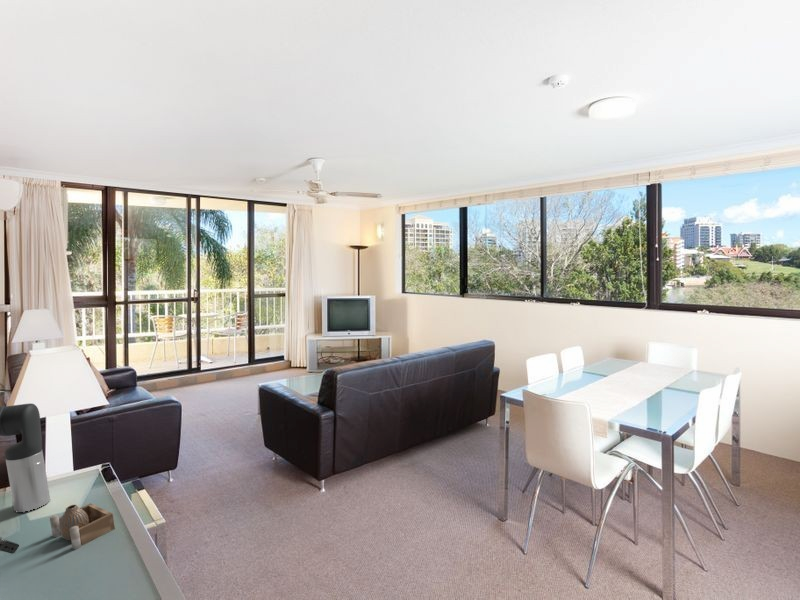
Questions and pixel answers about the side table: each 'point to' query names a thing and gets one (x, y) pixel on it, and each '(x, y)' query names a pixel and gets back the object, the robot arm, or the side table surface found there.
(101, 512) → the housing
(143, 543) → the side table surface
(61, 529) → the vase
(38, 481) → the robot arm
